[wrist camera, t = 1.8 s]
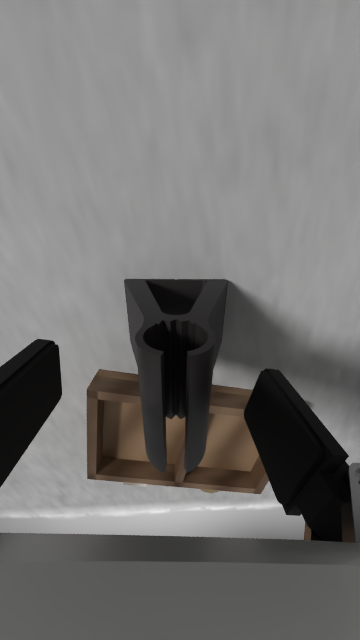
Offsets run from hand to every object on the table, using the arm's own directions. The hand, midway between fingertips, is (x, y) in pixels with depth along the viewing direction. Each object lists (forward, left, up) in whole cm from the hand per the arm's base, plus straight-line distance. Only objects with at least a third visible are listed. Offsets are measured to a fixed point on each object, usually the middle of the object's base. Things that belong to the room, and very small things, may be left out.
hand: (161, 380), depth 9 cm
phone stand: (-1, 0, -10) cm, 10 cm away
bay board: (-5, +17, -10) cm, 20 cm away
